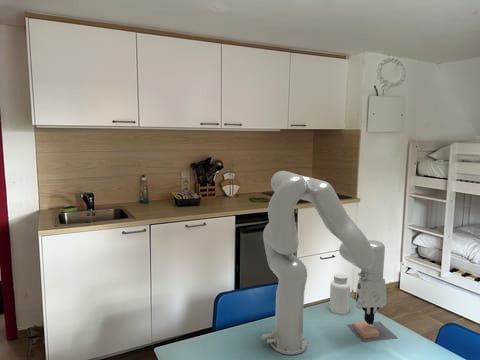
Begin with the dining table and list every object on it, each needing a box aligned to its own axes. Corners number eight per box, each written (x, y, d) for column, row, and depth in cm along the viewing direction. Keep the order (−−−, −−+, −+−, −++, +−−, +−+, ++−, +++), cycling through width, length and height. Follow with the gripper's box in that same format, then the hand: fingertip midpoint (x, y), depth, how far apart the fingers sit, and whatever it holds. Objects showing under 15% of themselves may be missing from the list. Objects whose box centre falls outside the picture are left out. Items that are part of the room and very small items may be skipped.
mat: (362, 343, 130) (362, 342, 130) (346, 325, 142) (346, 324, 141) (398, 339, 133) (398, 338, 133) (379, 322, 144) (379, 321, 144)
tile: (379, 336, 133) (363, 338, 132) (367, 325, 141) (352, 327, 140) (379, 332, 133) (364, 333, 132) (367, 321, 141) (353, 322, 140)
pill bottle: (336, 303, 159) (338, 270, 157) (353, 311, 153) (355, 276, 151) (325, 309, 154) (326, 275, 152) (341, 317, 148) (343, 281, 146)
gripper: (358, 280, 129) (355, 329, 131) (396, 277, 132) (393, 325, 134) (347, 272, 136) (345, 319, 138) (384, 269, 139) (381, 315, 141)
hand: (368, 322), depth 136 cm, fingers closed
